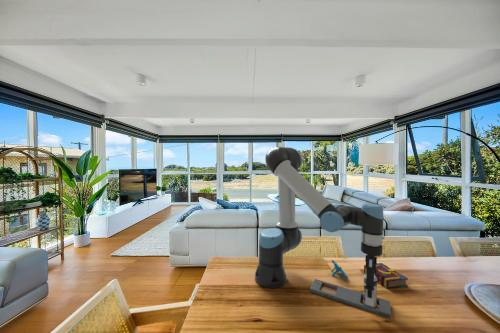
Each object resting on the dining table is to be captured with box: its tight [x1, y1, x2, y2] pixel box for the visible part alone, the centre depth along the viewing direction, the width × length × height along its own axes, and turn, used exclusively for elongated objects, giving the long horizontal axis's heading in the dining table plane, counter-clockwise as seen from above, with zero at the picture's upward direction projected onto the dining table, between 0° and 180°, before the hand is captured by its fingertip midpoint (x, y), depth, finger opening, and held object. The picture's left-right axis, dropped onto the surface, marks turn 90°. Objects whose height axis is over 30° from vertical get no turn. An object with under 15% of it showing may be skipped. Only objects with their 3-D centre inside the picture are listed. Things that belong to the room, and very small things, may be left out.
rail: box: [309, 278, 392, 319], centre depth 90 cm, size 30×9×2 cm, turn 59°
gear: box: [330, 259, 349, 279], centre depth 108 cm, size 11×6×10 cm
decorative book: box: [363, 262, 409, 290], centre depth 106 cm, size 11×16×5 cm
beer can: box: [362, 273, 378, 308], centre depth 86 cm, size 5×5×12 cm
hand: (370, 295), depth 86 cm, fingers open, 12 cm apart
